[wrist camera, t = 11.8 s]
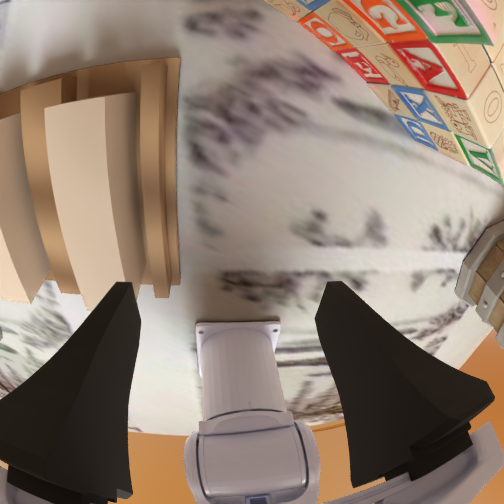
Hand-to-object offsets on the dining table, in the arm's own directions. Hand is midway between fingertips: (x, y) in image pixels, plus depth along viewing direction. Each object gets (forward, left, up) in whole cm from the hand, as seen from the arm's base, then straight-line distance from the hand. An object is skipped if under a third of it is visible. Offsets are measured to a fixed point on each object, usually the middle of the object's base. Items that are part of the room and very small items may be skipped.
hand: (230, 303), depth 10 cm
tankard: (-7, -38, -10) cm, 40 cm away
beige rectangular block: (+1, +15, -9) cm, 18 cm away
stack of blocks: (+14, -6, -10) cm, 19 cm away
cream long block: (+1, +7, -9) cm, 12 cm away
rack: (+1, +11, -10) cm, 15 cm away
